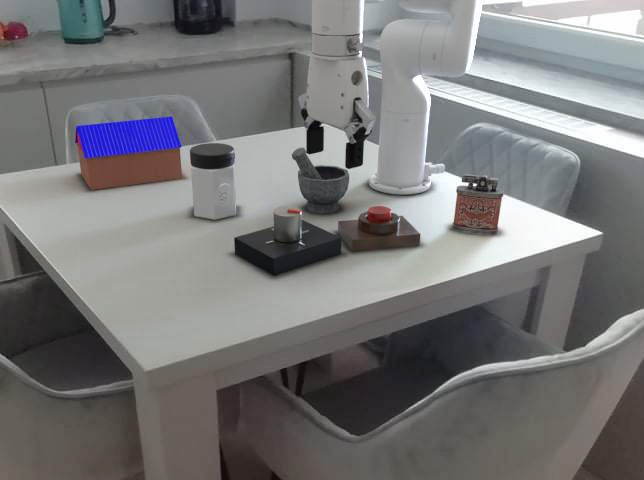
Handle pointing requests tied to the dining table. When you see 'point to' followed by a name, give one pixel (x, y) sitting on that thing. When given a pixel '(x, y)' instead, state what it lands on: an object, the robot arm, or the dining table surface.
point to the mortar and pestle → (320, 183)
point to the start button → (379, 214)
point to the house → (129, 152)
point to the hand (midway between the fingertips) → (333, 159)
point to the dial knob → (287, 224)
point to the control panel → (287, 249)
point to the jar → (213, 180)
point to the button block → (378, 233)
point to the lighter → (478, 205)
